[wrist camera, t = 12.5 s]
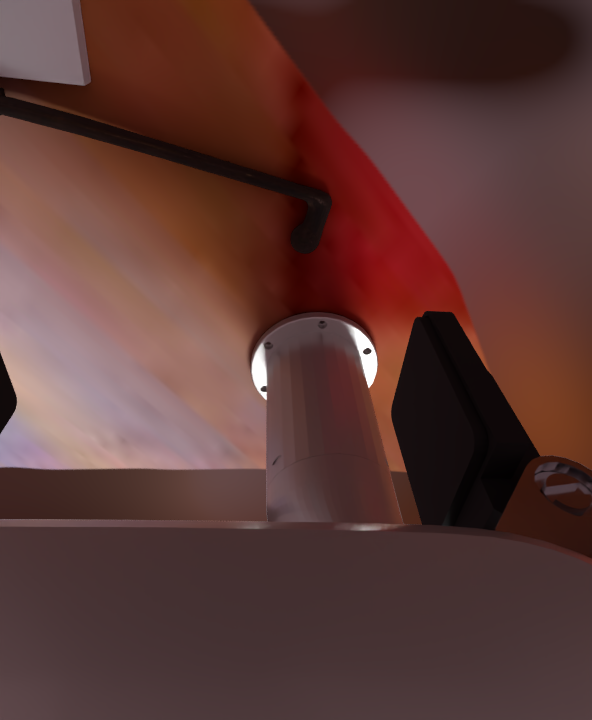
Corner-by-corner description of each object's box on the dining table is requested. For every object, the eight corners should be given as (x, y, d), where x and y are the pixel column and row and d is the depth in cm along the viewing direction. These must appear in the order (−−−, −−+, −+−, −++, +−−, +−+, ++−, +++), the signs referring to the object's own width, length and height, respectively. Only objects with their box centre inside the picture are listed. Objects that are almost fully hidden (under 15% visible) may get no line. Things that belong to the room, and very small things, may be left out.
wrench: (307, 242, 41) (-97, 128, 32) (328, 185, 39) (-107, 43, 30) (318, 267, 37) (-143, 145, 28) (342, 205, 35) (-158, 48, 26)
